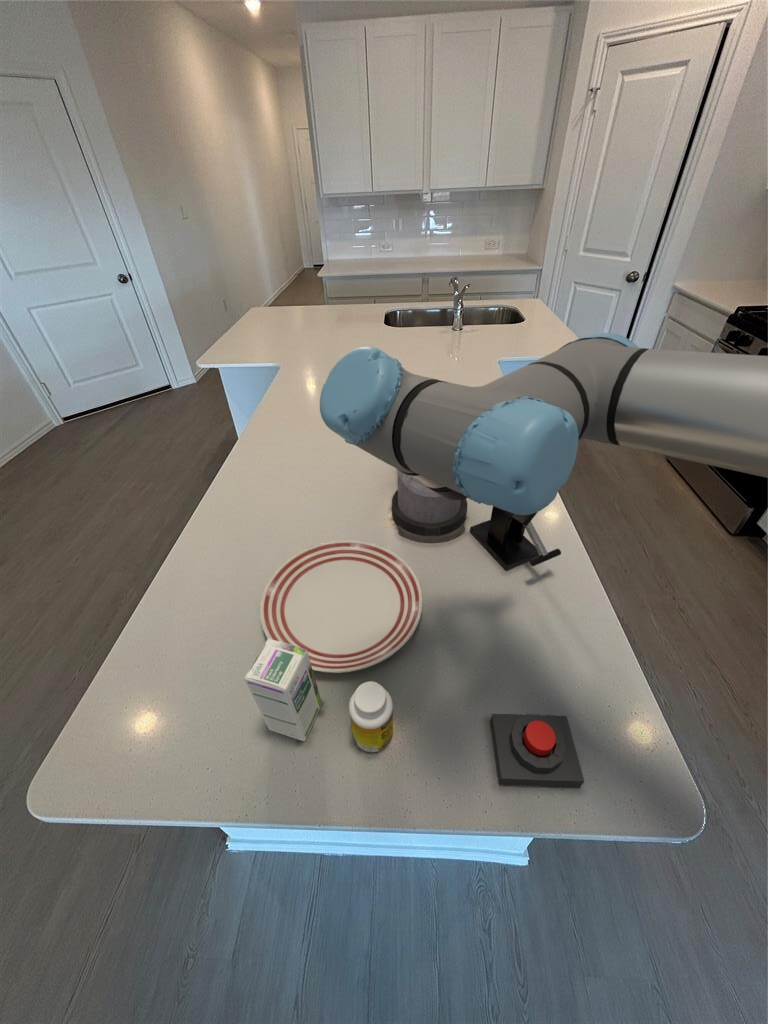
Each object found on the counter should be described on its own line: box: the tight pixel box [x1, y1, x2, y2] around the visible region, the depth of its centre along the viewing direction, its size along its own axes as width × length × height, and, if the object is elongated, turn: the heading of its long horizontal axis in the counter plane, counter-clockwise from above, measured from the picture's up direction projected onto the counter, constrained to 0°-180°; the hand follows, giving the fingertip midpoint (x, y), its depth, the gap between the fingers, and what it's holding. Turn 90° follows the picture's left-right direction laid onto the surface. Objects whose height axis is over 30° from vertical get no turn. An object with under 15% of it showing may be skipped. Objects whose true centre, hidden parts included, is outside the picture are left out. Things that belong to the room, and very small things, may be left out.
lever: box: [524, 520, 562, 567], centre depth 78 cm, size 14×6×2 cm
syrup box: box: [243, 638, 323, 743], centre depth 58 cm, size 6×6×14 cm
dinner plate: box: [259, 539, 424, 674], centre depth 75 cm, size 28×27×3 cm
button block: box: [489, 713, 585, 789], centre depth 57 cm, size 10×8×4 cm
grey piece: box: [391, 469, 468, 544], centre depth 91 cm, size 30×16×24 cm, turn 0°
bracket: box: [469, 506, 540, 572], centre depth 83 cm, size 12×8×14 cm, turn 26°
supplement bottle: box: [348, 681, 394, 753], centre depth 57 cm, size 6×6×10 cm
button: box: [523, 721, 556, 756], centre depth 55 cm, size 4×4×2 cm
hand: (528, 516), depth 63 cm, fingers closed
